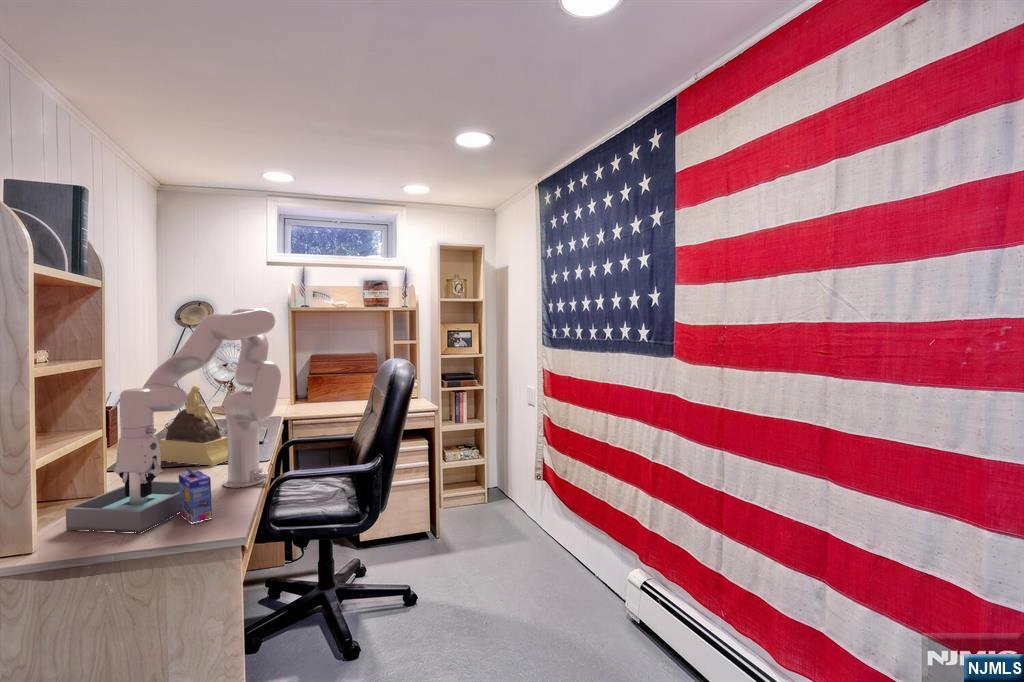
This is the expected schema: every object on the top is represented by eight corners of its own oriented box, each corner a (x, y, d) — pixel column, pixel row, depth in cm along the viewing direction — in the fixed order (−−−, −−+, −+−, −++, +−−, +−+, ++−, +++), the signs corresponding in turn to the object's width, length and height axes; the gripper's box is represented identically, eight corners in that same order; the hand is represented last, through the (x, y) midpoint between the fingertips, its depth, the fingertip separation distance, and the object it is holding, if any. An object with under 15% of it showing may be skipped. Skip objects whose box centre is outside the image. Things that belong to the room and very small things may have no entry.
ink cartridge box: (178, 516, 141) (177, 466, 140) (200, 510, 145) (199, 462, 145) (190, 525, 135) (189, 473, 134) (213, 519, 139) (212, 468, 138)
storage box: (202, 501, 152) (202, 482, 152) (140, 534, 129) (140, 511, 129) (138, 499, 154) (137, 480, 153) (66, 530, 131) (65, 508, 130)
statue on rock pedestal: (239, 457, 200) (238, 384, 199) (213, 467, 188) (211, 388, 186) (183, 452, 207) (181, 381, 206) (154, 461, 194) (152, 385, 193)
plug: (150, 502, 143) (150, 468, 143) (139, 507, 139) (138, 472, 139) (137, 501, 143) (137, 467, 143) (126, 507, 139) (125, 472, 139)
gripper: (175, 430, 143) (176, 492, 144) (121, 428, 145) (122, 490, 145) (154, 436, 136) (155, 501, 137) (97, 434, 137) (99, 499, 138)
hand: (138, 494), depth 141 cm, fingers closed on plug, 4 cm apart
